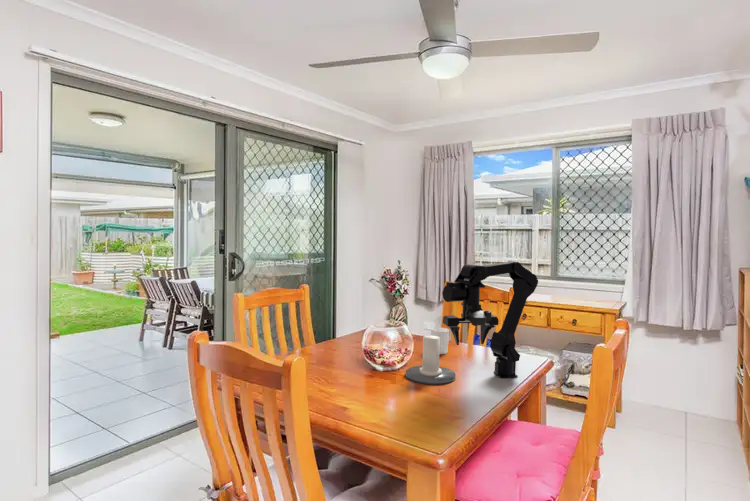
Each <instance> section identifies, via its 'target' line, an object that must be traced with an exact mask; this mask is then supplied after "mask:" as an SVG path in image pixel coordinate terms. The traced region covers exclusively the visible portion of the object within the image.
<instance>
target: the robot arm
mask: <svg viewBox="0 0 750 501" xmlns="http://www.w3.org/2000/svg"><path fill="white" fill-rule="evenodd" d="M504 274H508V276H509V278H510V279H511V280H512V281H513V282H512V290H513V291H512V292H513V295H512V299H511V300H510V304H509V307H508V309H507V312H506V315H505V317H504V320H503V323H502V325H501V328H500V330H499V331H494V332H493V333H492V336H491V339H490V341H489V343H490V345H489V348H490V350H491V352H492V355H493V357H495V360H496V361H494V371H493V374H495V375H497V376H498V377H499V378H501V379H503V378H504V379H508V378H509V379H510V378H518V377H519V376H518V375H517V374H516V366H517V364H516V363H517V362H519V361H520V358H521V354H520V353H519V351H517V350H516V349H515V348H516V337H515V334H516V331H517V328H518V324H519V322H520V319H521V318H522V313H523V311H524V308H525V305H526V302H527V299H528V298H529V297H530V296H531V295H532V294H533V293H534V292H535V291H536V289H537V286H538V284H539V279H538V277H537V275H536V274H534V273H533V272H532V271H531V270H528V268H526V267H525V266H523V265H522V264H521V263H520V262H519V261H514V260H513V261H512V260H508V261H504V262H498V263H491V264H485V265H480V264H479V265H478V264H467V263H466V264H464V265H462V268H461V270H460V272H459V274H458V275H457V277H456V278H455V280H454V282H451V281H447V282H446V283H445V286H444V287H443V290H442V293H441V294H442V298H443V301H444V302H446V303H452V302H453V303H454V302H456V303H457V302H461V306H462V313H460V315H461V317H458V316H456V315H454V314H452V315H444V316H443V317H442V325H443V324H444V325H445V326H446V327H448V328H449V330H450V331H451V333H452V336H453V338H454V341H455V344H456V346H460V345H459V344H460V332H459V331H460V329H461V327H460V326H459V325H460V324H471V325H472V326H474V327H477V326H480V345H484V343H485V341H486V339H487V337H488V335H489V332H490V331H491V329H492V328H495V327H496V326H499V324H500V323H499V318H498V316H495V315H493V314H492V311H491V310H482V305H481V304H480V298H481V297H480V296H481V295H480V292H481V291H480V290H481V289H483V288H486V285H485V284H484V283H482V281H484V280H486V279H487V278H489V277H493V276H499V275H504Z"/></svg>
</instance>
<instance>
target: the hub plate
mask: <svg viewBox="0 0 750 501" xmlns="http://www.w3.org/2000/svg"><path fill="white" fill-rule="evenodd" d="M421 367H422V365H416V366H411V367H409V368H407V369H406V370H405V377H406V379H408V380H409V381H411V382H413V383H418V384H422V385H430V386H434V385H435V386H436V385H437V386H438V385H441V386H442V385H446V384H450V383H453V382H454V381H456V379H457V378H456V376H457V374H456V372H455V371H453V369H451V368H447V367H444V366H440V365H439V368H440V369H441V370H442V374H441V375H440V376H434V377H432V376H424V375H422V374H420V368H421Z"/></svg>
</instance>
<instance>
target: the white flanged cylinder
mask: <svg viewBox="0 0 750 501" xmlns="http://www.w3.org/2000/svg"><path fill="white" fill-rule="evenodd" d="M439 348H440V338H439V337H437V336H431V335H424V336H423V337H422V362H421V364H422V365H421V366H422V367H421V368H420V374H422V375H424V376H432V377H434V376H440V375H441V374H442V370H441V369H440V368H439V366H440V354H439Z"/></svg>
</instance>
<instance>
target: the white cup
mask: <svg viewBox="0 0 750 501" xmlns="http://www.w3.org/2000/svg"><path fill="white" fill-rule="evenodd" d="M430 336H437V337H439V338H440V348H439V355H446V354H447V353H448V351H449V350H448V347H449V342H450V341H449V339H450V338H449V336H450V328H446V327H432V328H430Z"/></svg>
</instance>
